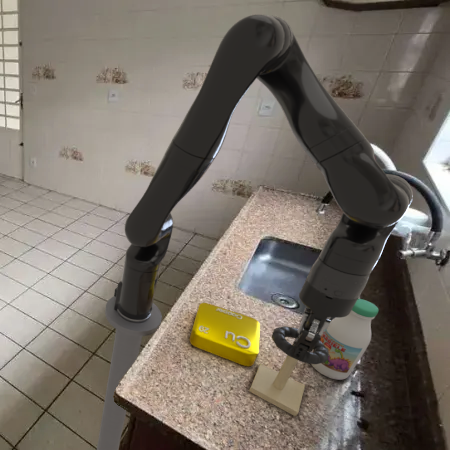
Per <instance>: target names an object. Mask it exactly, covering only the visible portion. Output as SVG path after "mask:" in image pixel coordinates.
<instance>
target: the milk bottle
mask: <svg viewBox="0 0 450 450" xmlns="http://www.w3.org/2000/svg"><path fill="white" fill-rule="evenodd" d="M378 313H379V308H378V306H376V304H375V303H373V302H370V301H368V300H365V299H362V298H358V300H357V301H356V303H355V305H354V307H353V308H352V310H351V312H350V313H349V315H347V316H345V317H340V318H336V317H333V318H332V320H330V321H331V322H330V324H329V326H328V328H327V329H325V330H324V332H323V334H322V336H321V339H320V341H321V342H322V343H323V344H324V345H325V347H326V348H327V349H328V351H329V355H328V360H327V361H326V362H323V363H320V364H311V366H312V368H313V369H315V370H316V371H317V372H318V373H319V374H321V375H323V376H325V377H327V378H330V379H332V380H339V381H341V380H342V381H343V380H345V379H347V378H348V377H349V376H350V375H351V373H352V372H353V370H354V369H355V368H356V366H357V365H358V363H359V361H360V360H361V358H362V357H363V355H364V353H365V352H366V350H367V348H368V347H369V345H370V343H371V340H372V328H371V326H372V325H371V324H372V320H374V319H375V318H376V316H377V315H378ZM312 352H314V350H312Z"/></svg>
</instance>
